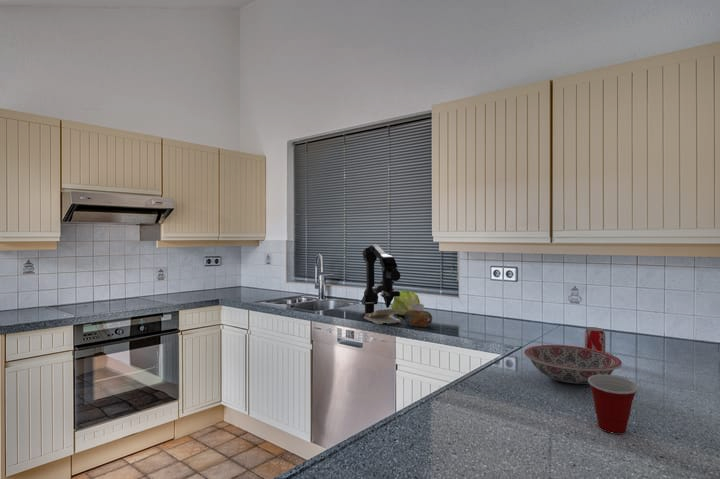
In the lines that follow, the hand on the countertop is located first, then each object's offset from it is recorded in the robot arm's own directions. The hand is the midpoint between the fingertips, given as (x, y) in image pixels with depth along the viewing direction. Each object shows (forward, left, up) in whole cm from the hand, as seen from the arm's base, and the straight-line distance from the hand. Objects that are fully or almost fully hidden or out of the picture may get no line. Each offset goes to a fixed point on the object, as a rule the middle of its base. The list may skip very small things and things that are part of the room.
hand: (387, 307), depth 238 cm
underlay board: (-7, 0, -8) cm, 11 cm away
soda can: (+95, +41, -8) cm, 104 cm away
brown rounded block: (+14, +11, -8) cm, 20 cm away
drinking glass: (+7, +15, -8) cm, 19 cm away
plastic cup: (+139, -9, -8) cm, 140 cm away
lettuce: (-14, +20, -8) cm, 26 cm away
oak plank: (-5, 0, -4) cm, 6 cm away
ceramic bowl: (+108, +13, -8) cm, 109 cm away
